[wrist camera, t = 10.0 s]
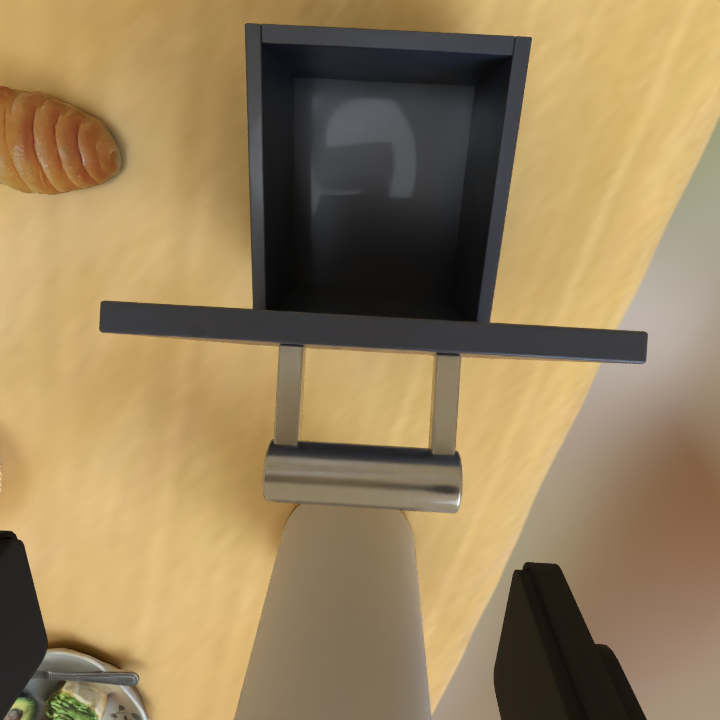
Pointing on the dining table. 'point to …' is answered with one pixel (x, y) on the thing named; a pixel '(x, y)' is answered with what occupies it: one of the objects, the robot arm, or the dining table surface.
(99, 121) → the pastry
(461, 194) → the bin
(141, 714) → the salad plate
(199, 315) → the bin lid
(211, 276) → the dining table surface
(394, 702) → the cylinder vase
